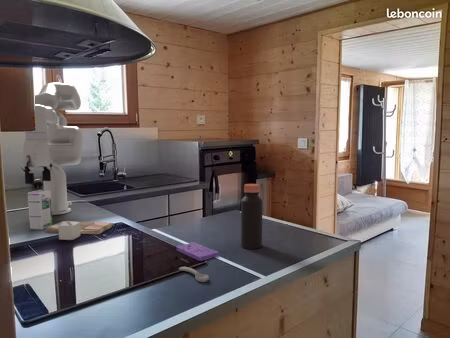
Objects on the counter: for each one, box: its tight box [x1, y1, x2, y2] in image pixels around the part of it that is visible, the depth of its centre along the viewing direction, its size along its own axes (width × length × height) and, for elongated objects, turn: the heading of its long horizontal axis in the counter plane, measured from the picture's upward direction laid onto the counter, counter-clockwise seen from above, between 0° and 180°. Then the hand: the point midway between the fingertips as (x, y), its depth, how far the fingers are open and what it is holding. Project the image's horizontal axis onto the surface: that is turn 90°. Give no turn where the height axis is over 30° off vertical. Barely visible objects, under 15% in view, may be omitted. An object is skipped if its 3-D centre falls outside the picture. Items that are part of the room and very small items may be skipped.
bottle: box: [240, 183, 263, 250], centre depth 113 cm, size 7×7×20 cm
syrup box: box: [27, 189, 54, 231], centre depth 137 cm, size 6×6×14 cm
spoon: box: [178, 266, 210, 283], centre depth 91 cm, size 3×12×2 cm, turn 38°
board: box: [44, 220, 114, 235], centre depth 136 cm, size 12×21×2 cm, turn 82°
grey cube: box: [58, 221, 81, 241], centre depth 124 cm, size 5×5×5 cm
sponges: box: [175, 241, 219, 262], centre depth 108 cm, size 7×13×2 cm, turn 40°
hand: (38, 182), depth 136 cm, fingers open, 9 cm apart
